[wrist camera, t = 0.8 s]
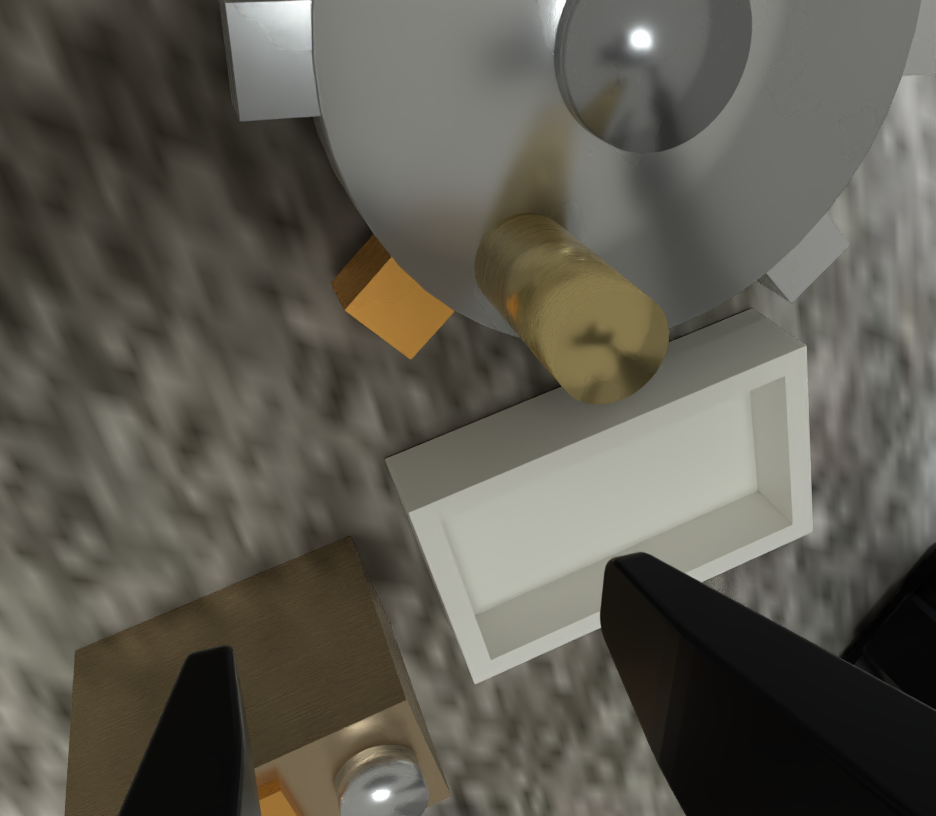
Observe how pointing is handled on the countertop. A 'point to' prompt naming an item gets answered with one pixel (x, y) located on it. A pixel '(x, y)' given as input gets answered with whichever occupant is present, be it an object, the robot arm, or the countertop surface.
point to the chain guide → (611, 489)
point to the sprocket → (580, 155)
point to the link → (269, 695)
